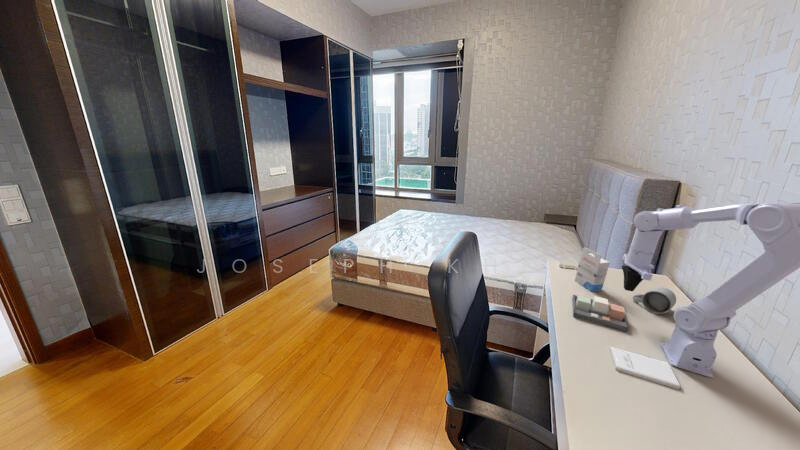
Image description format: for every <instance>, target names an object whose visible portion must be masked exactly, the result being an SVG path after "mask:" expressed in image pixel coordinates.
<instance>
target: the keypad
mask: <svg viewBox="0 0 800 450" xmlns="http://www.w3.org/2000/svg"><path fill="white" fill-rule="evenodd" d="M577 296H578V295H577V294H572V298H571V301H572V315H573V318H577V319H581V320H584V321H587V322H591V323H595V324H598V325H601V326H605V327H609V328H611V329H612V328H613V329H616V330H619V331H623V332H626V333H628V330H629V328H630V327H629V325H628V322H627V319H626V316H625V315H626V314H625V315H624V318H623V321H619V320H615V319H611V318H609V317H608V313H602V312H599V311H595V310H593V308H592V302H593V299H594V298H593V299H592V298H590V300H591V306H590V309H589V312H586V311H582V310H578V309H576V304H575V303H576V300H577ZM608 307H609V306H608ZM607 310H608V309H607Z"/></svg>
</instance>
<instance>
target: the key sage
mask: <svg viewBox="0 0 800 450" xmlns="http://www.w3.org/2000/svg"><path fill="white" fill-rule="evenodd" d="M590 299H591V297H587V296H582V295H577V300H576V303H575V304H576V309H578V310H582V311H586V312H589V309H590V306H591V300H590Z"/></svg>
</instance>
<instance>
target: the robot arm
mask: <svg viewBox="0 0 800 450" xmlns="http://www.w3.org/2000/svg"><path fill="white" fill-rule="evenodd" d="M724 221H725V222H726V221H735V222H736V223H738V224H740V225H742V226H743V225H744V226H745V225H746V226H748V227H749V229H750V230H751V231H752V233H753V234H754V235H755V237H756V238H758V240H759V241H760V243H761V244H762V246H763V250H764V252H763V253H761V255H759V256H758V257H757V258H755V259H754V260H753V261H752V262H750V263H749V264H748V265H746V266H745V267H744V268H743V269H740V270H739V272H737V273H736V274H734V275H733V276H732V277H730V278H729V279H728V280H726V281H725V282H723V284H721V285H720V286H719V287H718V288H716V289H715V290H713V291H712V292H711V293H710V294H708V295H707V296H705V297H703V298H700V299H698V300H695V301H694V302H692V303H690V304H688V305H687V306H686V305H685V306H681V307H677V308H676V309H675V310H674V312H673V320H674V322H675V326H674V329H673V331H672V334H671V336H670V339H669V342H668V343H667V342H663V341H661V342H660V345H661V347H662V349H663V351H664V354H665V356H666V358H667V360H668V363H669V365H671V367H672V366H673V367H676V368H679V369H682V370H686V371H689V372H692V373H695V374H699V375H701V376H702V375H703V376H705V377H708V378H713V374H712V372H711V370H712V366H713V365H714V363H715V361H716V359H717V356H718V355H717V351H716V349H715V340H716V339H717V336H718V332H719V331H720V330H724V329H726V328H727V327H729V326H730V323H731V320H732V318H734V317H735V316H737V312H736V311H737V310H738V309H740V308H742V307H743V306H745V305H746V304H748V303H750V302H751V301H752V300H754V299H755V298H756V297H758V296H759V295H761V294H763V293H764V292H766V291H767V290H769V289H770V288H772V287H773V286H775V285H776V284H778V283H780V282H781V281H782V280H784V279H785V278H787V277H788V276H789V275H791V274H792V273H794V272H795V271H797V270H799V269H800V202H792V203H769V202H768V203H737V204H731V205H726V206H718V207H717V206H716V207H711V208H705V209H704V208H703V209H695V208H694V207H692V206H686V205H685V204H678V205H675V207H673V208H665V209H664V208H663V207H662V208H657V209H656V210H655V211H654V210H652V211H650V210H642V211H640V212H638V213H636V215H635V216H634V217H633V225H634V227H635V231H634V234H633V238H632V240H631V242H630V246H629V249H628V253H624V254H623V256H622V260H623V261H624V264H625V265H621V268H622V273H623V289H624V290H625V291H628V292H634V291H635V290H636V289H637V287H638V286H639V285H640V283H641V282H642V281H651V280H652V278H653V273H652V271H651V269H652V270H653V269H654V268H655V266H654V265H653V264H651V263H652V260H653V257H654V254H655V252H656V248H657V246H658V243H659V240H660V238H661V236H662V235H663V232H664V231H672V230H687V229H693V228H696V227H697V226H698V224H700V223H709V222H710V223H711V222H724Z"/></svg>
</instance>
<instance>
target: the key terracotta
mask: <svg viewBox="0 0 800 450" xmlns="http://www.w3.org/2000/svg"><path fill="white" fill-rule="evenodd" d="M607 313H608V317H609V318H611V319H615V320H619V321H623V318H624V315H626V310H625V308H624V306H621V305H617V304H614V303H609V307H608V310H607Z"/></svg>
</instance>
